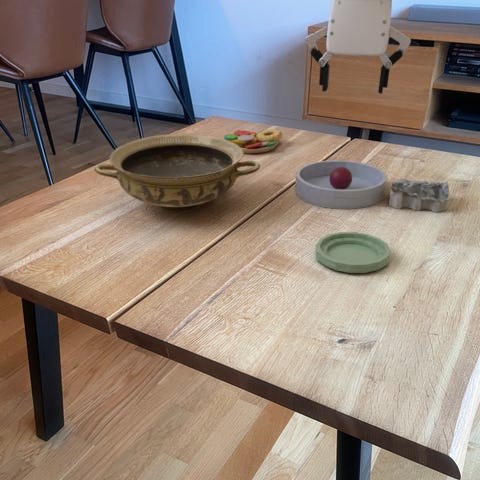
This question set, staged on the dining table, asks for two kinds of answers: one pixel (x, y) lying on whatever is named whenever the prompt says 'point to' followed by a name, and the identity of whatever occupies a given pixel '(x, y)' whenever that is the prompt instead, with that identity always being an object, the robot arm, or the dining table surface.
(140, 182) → the ceramic bowl
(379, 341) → the dining table surface
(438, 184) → the egg carton
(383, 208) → the dining table surface
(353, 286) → the dining table surface
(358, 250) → the saucer
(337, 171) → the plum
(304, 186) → the dish
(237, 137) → the toy food set
